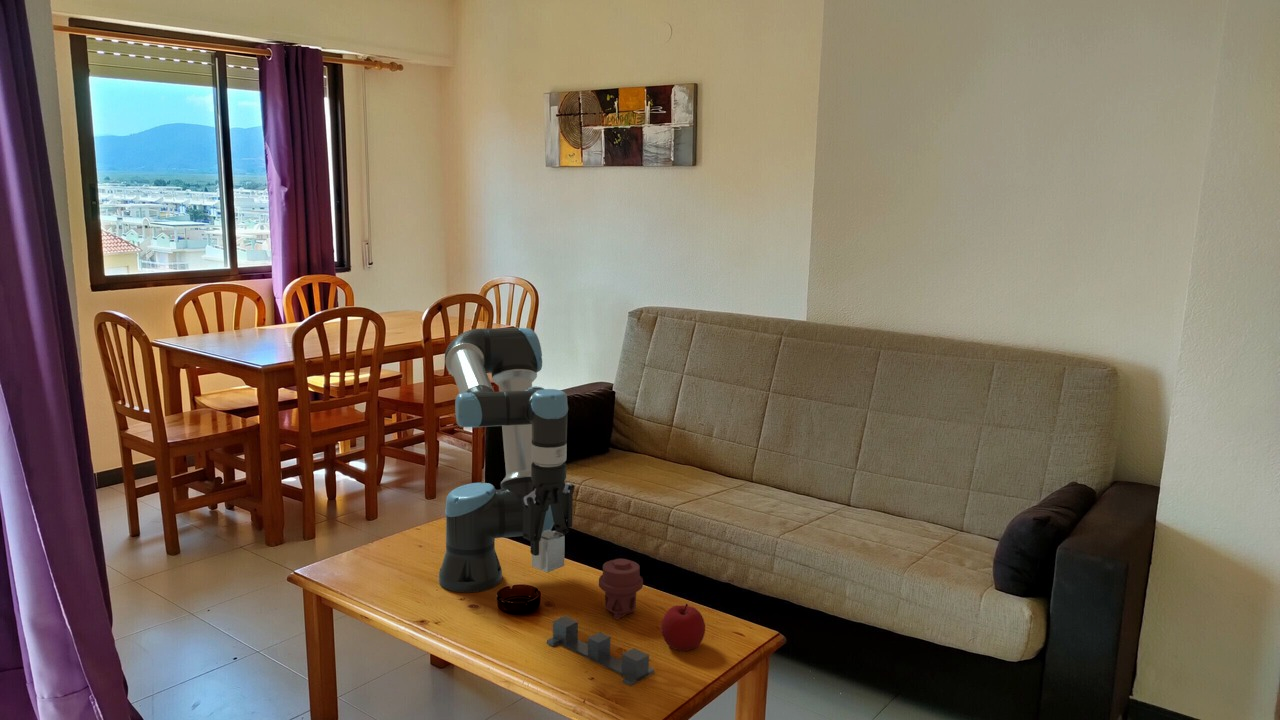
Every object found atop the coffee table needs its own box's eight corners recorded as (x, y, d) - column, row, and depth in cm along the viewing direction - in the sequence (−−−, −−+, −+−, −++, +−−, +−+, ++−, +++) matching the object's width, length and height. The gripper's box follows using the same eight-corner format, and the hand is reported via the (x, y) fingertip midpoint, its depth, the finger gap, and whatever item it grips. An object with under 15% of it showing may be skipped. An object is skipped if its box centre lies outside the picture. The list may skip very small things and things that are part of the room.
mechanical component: (645, 606, 210) (637, 625, 200) (603, 601, 212) (593, 620, 202) (647, 555, 208) (638, 572, 198) (605, 551, 209) (594, 567, 200)
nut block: (531, 565, 198) (532, 534, 196) (548, 559, 201) (549, 528, 200) (547, 572, 195) (547, 540, 193) (564, 565, 198) (564, 534, 197)
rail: (546, 643, 191) (546, 623, 190) (570, 632, 196) (571, 613, 195) (630, 686, 175) (630, 664, 174) (654, 672, 180) (654, 651, 179)
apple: (702, 636, 196) (704, 593, 194) (706, 657, 187) (708, 611, 185) (659, 635, 196) (661, 592, 194) (661, 656, 187) (663, 611, 185)
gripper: (528, 475, 185) (527, 581, 189) (591, 457, 198) (588, 557, 202) (504, 466, 190) (504, 570, 194) (567, 450, 203) (565, 547, 207)
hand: (547, 563), depth 198 cm, fingers closed on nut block, 5 cm apart
